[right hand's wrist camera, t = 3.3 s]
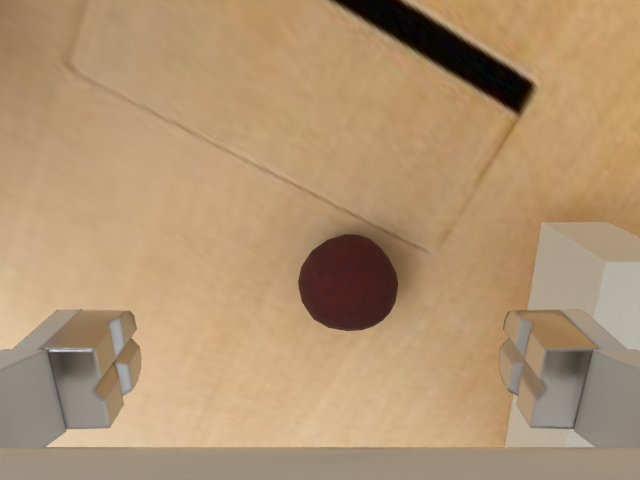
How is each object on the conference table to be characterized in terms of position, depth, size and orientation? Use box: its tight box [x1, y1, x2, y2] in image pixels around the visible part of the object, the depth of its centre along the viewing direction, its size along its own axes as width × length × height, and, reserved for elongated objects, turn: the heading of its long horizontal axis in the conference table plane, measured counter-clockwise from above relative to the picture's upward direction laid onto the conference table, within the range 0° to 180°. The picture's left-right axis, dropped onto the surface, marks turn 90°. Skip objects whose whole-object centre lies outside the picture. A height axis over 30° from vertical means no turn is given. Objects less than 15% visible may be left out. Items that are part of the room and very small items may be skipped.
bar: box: [505, 222, 640, 447], centre depth 35 cm, size 28×5×8 cm, turn 0°
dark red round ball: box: [298, 234, 398, 331], centre depth 35 cm, size 7×8×7 cm
